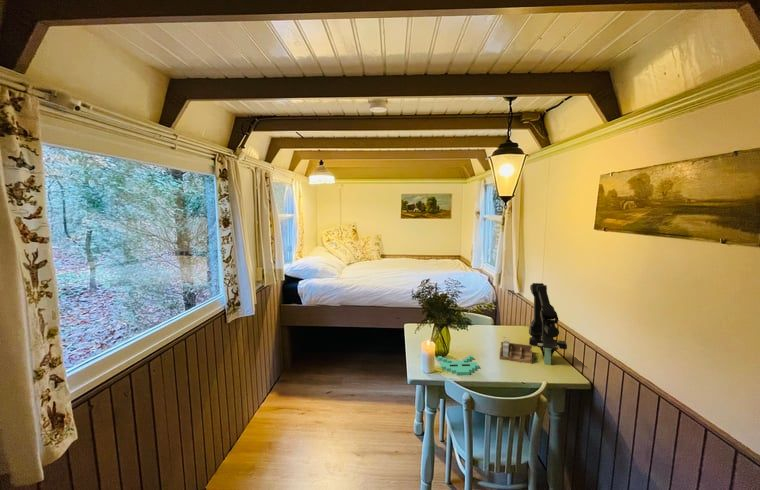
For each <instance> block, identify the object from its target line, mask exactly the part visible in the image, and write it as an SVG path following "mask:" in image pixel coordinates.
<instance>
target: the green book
mask: <svg viewBox="0 0 760 490" xmlns="http://www.w3.org/2000/svg"><path fill="white" fill-rule="evenodd" d="M543 348H544V347H543ZM551 359H552V357H551V349H550V348H544V357H543V361H544V365H546V366H552V364H551V363H552V360H551Z"/></svg>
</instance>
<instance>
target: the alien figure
mask: <svg viewBox="0 0 760 490" xmlns="http://www.w3.org/2000/svg"><path fill="white" fill-rule="evenodd" d="M437 360H438V362H439V361H440V368H441V370H442V371H446V372H447V373H449V372H450V373H451V374H455V375H456V376H470V374H473V373H474V372H476V370H479V367H480V366H479V364H478V363H477V361H473V360H474V356H473V355H472V354H471V355H467V356H466V357H465V358H463V359H462V360H452V359H451V358H450V359H449V358H448V359H447V357H443V356H442V355H437ZM472 361H473V362H472Z"/></svg>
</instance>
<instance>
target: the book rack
mask: <svg viewBox="0 0 760 490" xmlns="http://www.w3.org/2000/svg"><path fill="white" fill-rule="evenodd" d="M532 348H533V345H528V344H524V343H523V344H521V343H513V342H510V339H508V338H504V339H503V341H501V342H500V348H499V360H504V361H509V362H518V363H524V364H531V365H532V364H533V352H532V351H533V349H532Z"/></svg>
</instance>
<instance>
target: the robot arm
mask: <svg viewBox="0 0 760 490" xmlns="http://www.w3.org/2000/svg"><path fill="white" fill-rule="evenodd" d="M529 288H530V293H531V294H532V296H533V320H532V321H531V322H530V325H529V329H528V334H529V336H530V337H529V345H531V346H532V347H533V346H536V347H538V348H539V349H540V351H541V354H542V356H543V358H544V348H550V349H551V358H552V357H553V355H554V352H555V351H556V350H559V349H561V350H567V349H568V344H567V342H566V340H559V339H558V340H557V339H554V338H556V337H558V336H559V335H560V331H559V328H557V326H556V324H559V316H558V312H557V311H556V310H555V308H554V306H553V305H552V304H551V302H550V299H549V298H550V297H549V296H548V285H546V284H544V283H542V282H536V283H535V282H533V283H531V284H530V287H529Z"/></svg>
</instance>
